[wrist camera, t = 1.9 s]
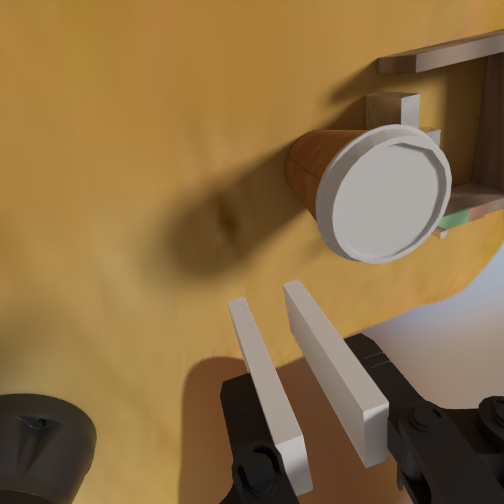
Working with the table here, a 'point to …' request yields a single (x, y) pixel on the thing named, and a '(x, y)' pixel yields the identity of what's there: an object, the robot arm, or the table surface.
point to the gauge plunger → (399, 119)
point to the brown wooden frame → (490, 124)
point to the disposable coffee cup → (371, 188)
